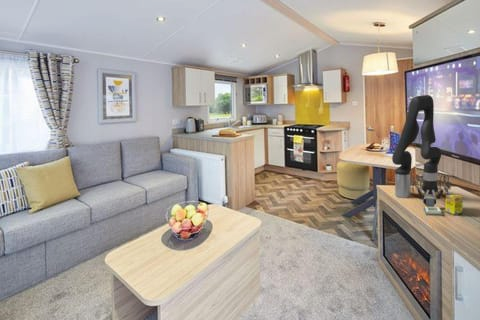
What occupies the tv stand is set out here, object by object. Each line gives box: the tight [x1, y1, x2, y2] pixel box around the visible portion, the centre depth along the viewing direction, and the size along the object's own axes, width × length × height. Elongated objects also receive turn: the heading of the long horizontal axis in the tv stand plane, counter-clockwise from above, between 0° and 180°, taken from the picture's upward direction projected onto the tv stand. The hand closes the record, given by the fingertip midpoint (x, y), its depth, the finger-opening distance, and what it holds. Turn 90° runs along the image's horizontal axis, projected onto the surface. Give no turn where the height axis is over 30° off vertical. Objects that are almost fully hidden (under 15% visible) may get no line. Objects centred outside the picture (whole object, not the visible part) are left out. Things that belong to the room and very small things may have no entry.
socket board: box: [423, 206, 444, 217], centre depth 164 cm, size 8×8×2 cm
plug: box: [424, 194, 435, 207], centre depth 170 cm, size 4×4×7 cm
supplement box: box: [444, 193, 464, 216], centre depth 160 cm, size 6×6×11 cm
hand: (429, 204), depth 170 cm, fingers closed on plug, 4 cm apart
